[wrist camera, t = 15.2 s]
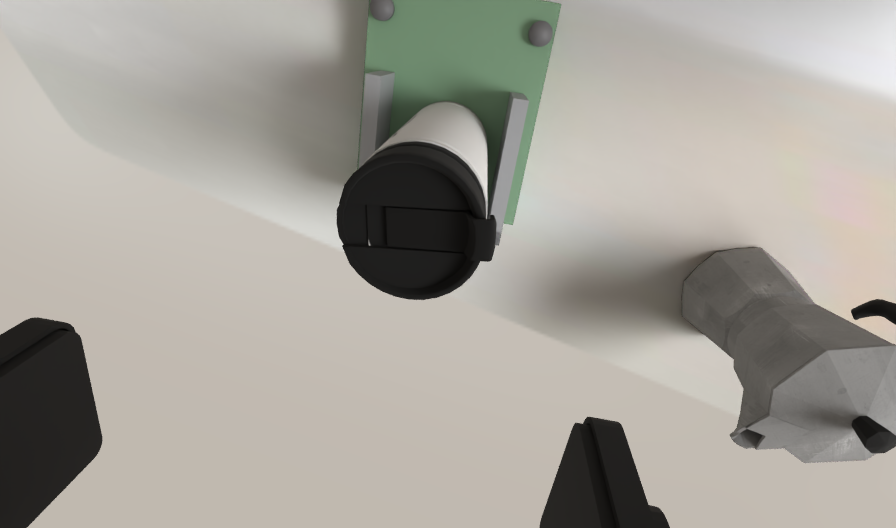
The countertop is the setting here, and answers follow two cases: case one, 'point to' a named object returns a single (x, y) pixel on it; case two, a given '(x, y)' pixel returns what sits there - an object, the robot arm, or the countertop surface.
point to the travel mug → (421, 206)
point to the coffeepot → (796, 360)
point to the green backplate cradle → (461, 77)
